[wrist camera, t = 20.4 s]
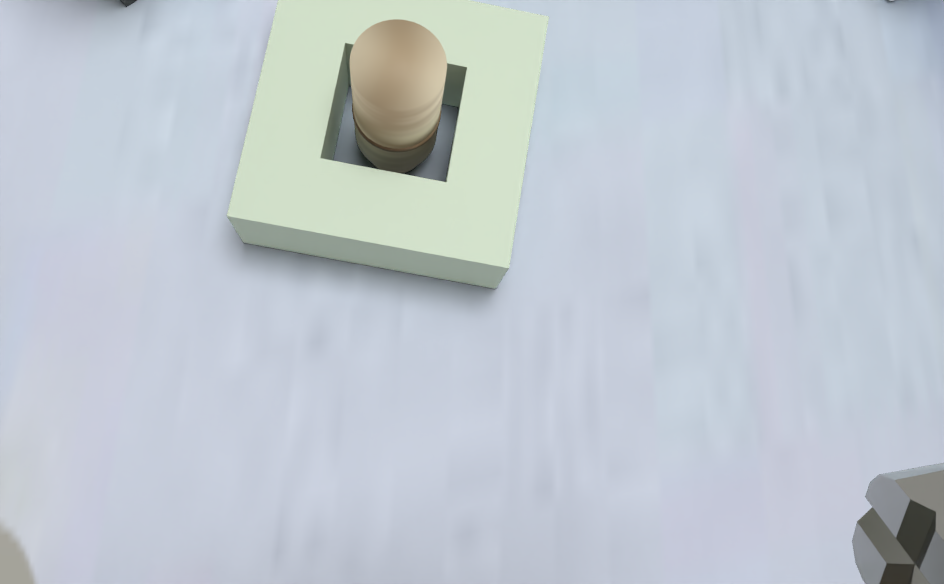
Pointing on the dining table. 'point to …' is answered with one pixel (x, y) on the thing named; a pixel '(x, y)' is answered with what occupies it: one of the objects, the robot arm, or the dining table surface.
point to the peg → (397, 93)
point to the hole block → (378, 191)
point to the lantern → (127, 2)
